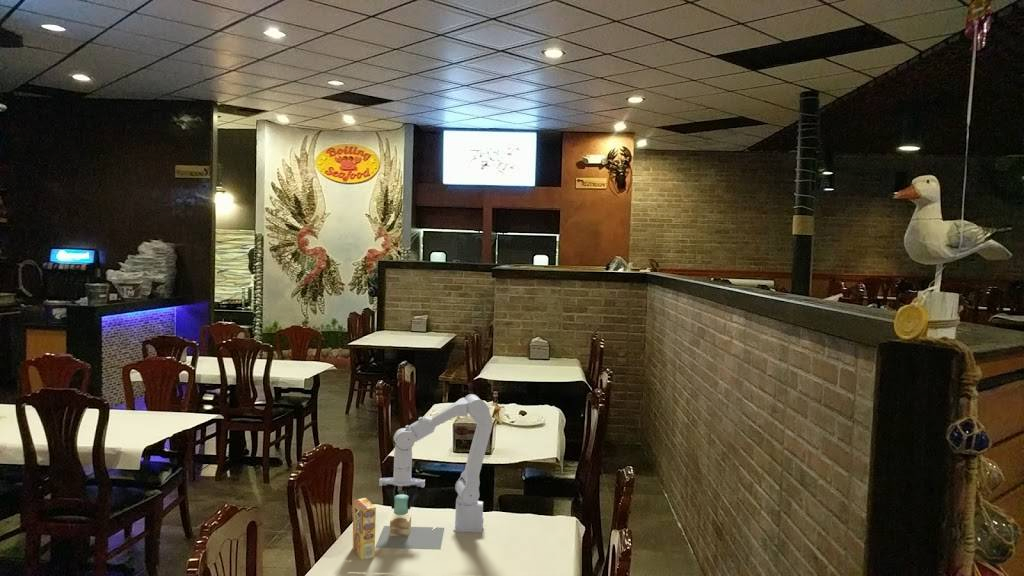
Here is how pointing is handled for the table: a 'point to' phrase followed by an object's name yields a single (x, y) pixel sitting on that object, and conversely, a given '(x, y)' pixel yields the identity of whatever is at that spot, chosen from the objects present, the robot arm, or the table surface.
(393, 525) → the oak slab top
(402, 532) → the birch slab low
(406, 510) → the green rounded knob
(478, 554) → the table surface
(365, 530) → the candy box
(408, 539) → the slate mat
